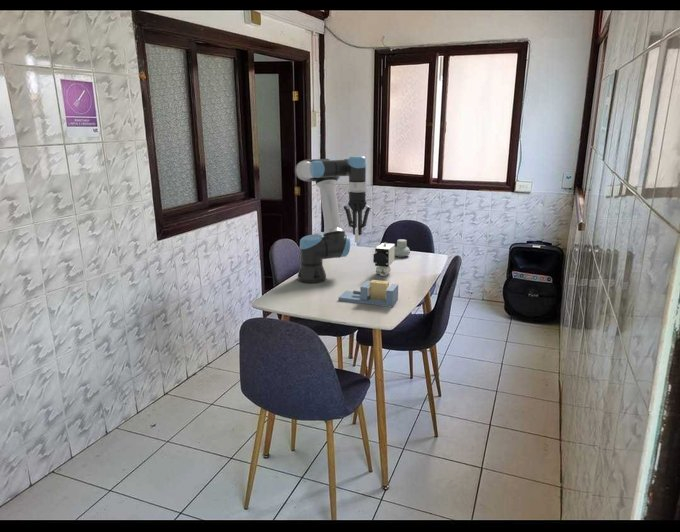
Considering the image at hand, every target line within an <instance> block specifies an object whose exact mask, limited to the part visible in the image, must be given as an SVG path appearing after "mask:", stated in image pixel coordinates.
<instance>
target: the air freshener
mask: <svg viewBox="0 0 680 532" xmlns="http://www.w3.org/2000/svg"><path fill="white" fill-rule="evenodd" d="M407 241H408V240H407V239H403V238H402V239H401V238H400V239H397V240H396V246H395V257H397V256H398V257H397V258H405V256H406V257H408V256H409V255H411V250H410V247H408V245H407V243H408V242H407Z"/></svg>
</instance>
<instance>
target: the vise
mask: <svg viewBox="0 0 680 532" xmlns="http://www.w3.org/2000/svg"><path fill="white" fill-rule="evenodd" d="M353 291H354V290H353ZM353 291H351V290H345V291H344V292H342V294H340V295H339V296H338V301H339V300H340V302H341V301H342V302H349V303H356V304H363V305H364V304H366V305H373V306H374V305H375V306H381V305H383V307H390V306H391V308H393V307H394V306H395V304H396V303H397V301H398V300H399V283H391V284H389V287H388V288H387V290H386V301H385V300H377V299H370V297H369V298H368V299H367V300H362V299H360V295H358V294H353Z"/></svg>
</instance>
